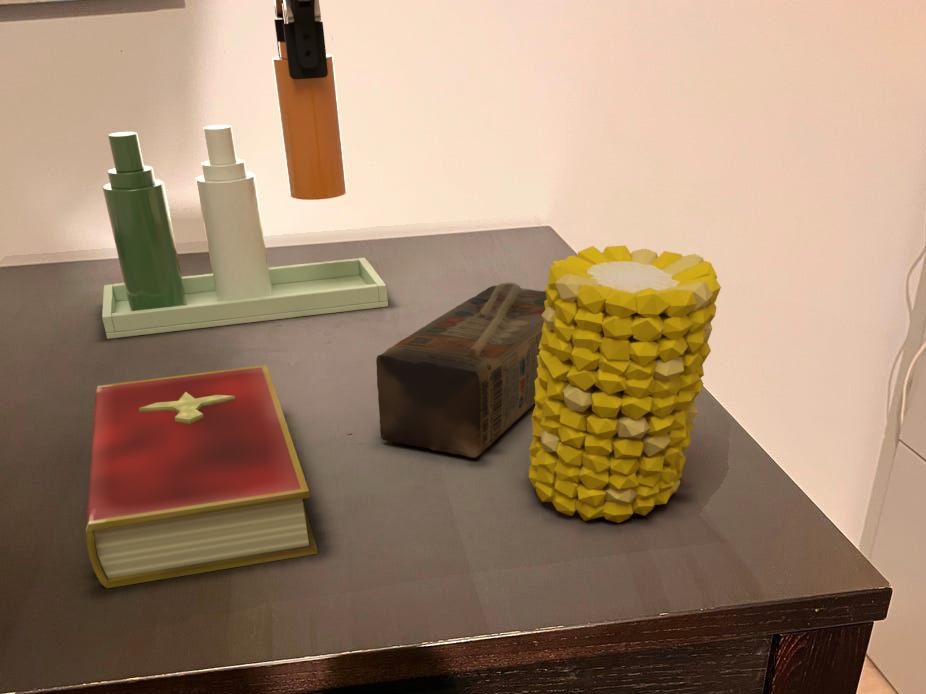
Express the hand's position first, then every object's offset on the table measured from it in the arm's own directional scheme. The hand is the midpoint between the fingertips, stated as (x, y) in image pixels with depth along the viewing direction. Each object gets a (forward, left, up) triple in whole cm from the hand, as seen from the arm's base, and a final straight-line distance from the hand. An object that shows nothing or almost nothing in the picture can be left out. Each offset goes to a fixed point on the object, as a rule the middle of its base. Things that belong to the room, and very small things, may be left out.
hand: (303, 72), depth 88 cm
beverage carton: (+31, -9, -19) cm, 38 cm away
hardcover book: (+28, -31, -19) cm, 46 cm away
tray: (-4, -7, -19) cm, 21 cm away
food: (+47, -14, -19) cm, 53 cm away
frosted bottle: (-4, -7, -19) cm, 20 cm away
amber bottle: (0, 0, -10) cm, 10 cm away
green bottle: (-8, -14, -19) cm, 25 cm away
